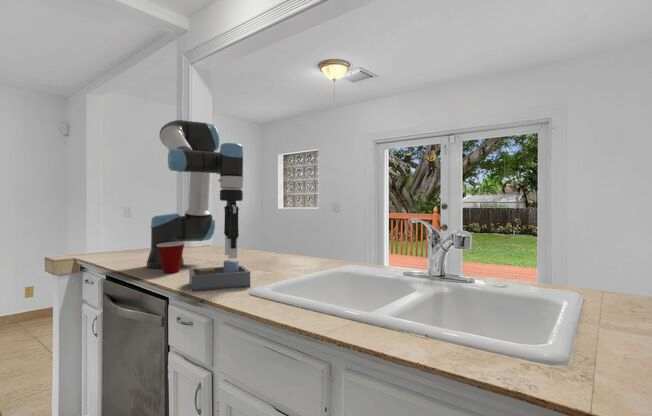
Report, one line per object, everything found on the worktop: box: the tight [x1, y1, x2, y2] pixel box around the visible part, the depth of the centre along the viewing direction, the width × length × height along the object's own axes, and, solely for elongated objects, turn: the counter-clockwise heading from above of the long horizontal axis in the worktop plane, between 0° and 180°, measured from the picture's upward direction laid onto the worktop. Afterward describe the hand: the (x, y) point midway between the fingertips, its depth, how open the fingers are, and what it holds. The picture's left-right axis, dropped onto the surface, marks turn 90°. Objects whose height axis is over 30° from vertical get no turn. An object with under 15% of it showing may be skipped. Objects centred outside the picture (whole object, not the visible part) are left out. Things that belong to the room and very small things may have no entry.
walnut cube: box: [197, 266, 215, 275], centre depth 121 cm, size 5×5×5 cm
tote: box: [188, 265, 251, 293], centre depth 123 cm, size 14×18×5 cm
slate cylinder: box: [223, 259, 240, 273], centre depth 124 cm, size 5×5×7 cm
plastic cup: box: [156, 241, 186, 274], centre depth 147 cm, size 11×11×12 cm
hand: (230, 256), depth 125 cm, fingers open, 7 cm apart
